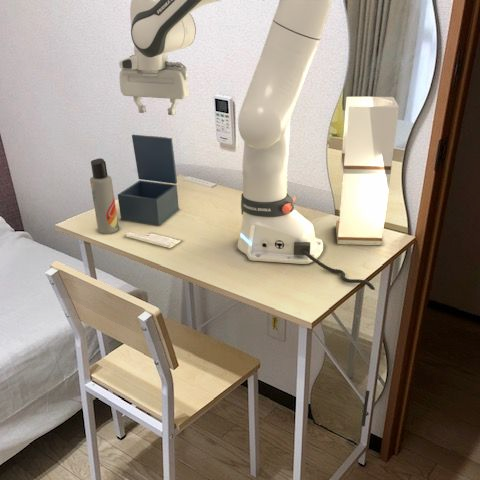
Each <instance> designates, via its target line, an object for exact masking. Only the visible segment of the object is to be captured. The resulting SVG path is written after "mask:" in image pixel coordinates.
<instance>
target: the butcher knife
mask: <svg viewBox="0 0 480 480" xmlns="http://www.w3.org/2000/svg"><path fill="white" fill-rule="evenodd" d="M125 236H126V238H129V239H134V240H137V241H142V242H145V243H148V244H152V245H156V246H160V247H165V248H169V249H171V248H172V247H174V246H176V245H177V244H179V243H180V242H181V240H180V239H176V238H173V237H169V236H165V235H160V234H157V233H152V232H151V233H146V235H143V234H138V233H135V232H132V231H128V232H127V233H126V234H125Z"/></svg>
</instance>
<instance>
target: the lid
mask: <svg viewBox="0 0 480 480" xmlns="http://www.w3.org/2000/svg"><path fill="white" fill-rule="evenodd" d="M131 139H132V146H133V153H134V159H135V165H136V170H137V176H138V177H137V178H138V180H141V181H149V182H157V183H165V184H173V185H177V184H178V178H177V169H176V161H175V151H174V143H173V138H172V137H166V136H157V135H156V136H155V135H141V134H132V135H131Z"/></svg>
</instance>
